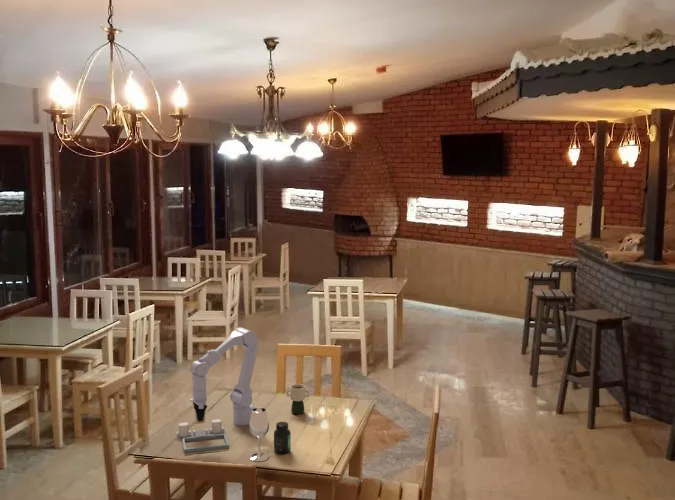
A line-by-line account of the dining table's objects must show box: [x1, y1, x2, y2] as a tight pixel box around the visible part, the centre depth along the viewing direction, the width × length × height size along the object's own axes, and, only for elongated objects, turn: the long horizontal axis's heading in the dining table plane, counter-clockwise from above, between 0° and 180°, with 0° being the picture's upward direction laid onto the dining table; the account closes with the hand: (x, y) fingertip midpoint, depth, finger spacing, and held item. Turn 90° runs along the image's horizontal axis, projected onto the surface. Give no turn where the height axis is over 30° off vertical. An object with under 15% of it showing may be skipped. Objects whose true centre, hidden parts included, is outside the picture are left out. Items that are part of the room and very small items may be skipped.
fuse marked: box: [194, 410, 206, 424], centre depth 291 cm, size 4×3×5 cm
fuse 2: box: [211, 418, 223, 434], centre depth 293 cm, size 4×3×5 cm
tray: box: [181, 434, 230, 456], centre depth 281 cm, size 18×12×2 cm, turn 106°
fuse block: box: [174, 426, 227, 440], centre depth 292 cm, size 21×6×3 cm, turn 106°
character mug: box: [285, 383, 310, 415], centre depth 319 cm, size 11×7×13 cm, turn 87°
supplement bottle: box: [273, 421, 292, 456], centre depth 276 cm, size 7×7×12 cm
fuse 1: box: [178, 421, 190, 437], centre depth 289 cm, size 4×3×5 cm
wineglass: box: [248, 406, 270, 462], centre depth 270 cm, size 8×8×20 cm
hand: (200, 419), depth 291 cm, fingers closed on fuse marked, 3 cm apart
